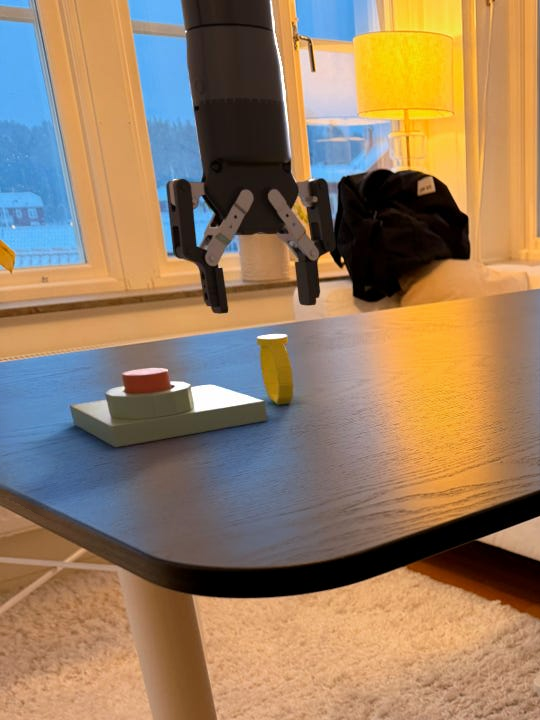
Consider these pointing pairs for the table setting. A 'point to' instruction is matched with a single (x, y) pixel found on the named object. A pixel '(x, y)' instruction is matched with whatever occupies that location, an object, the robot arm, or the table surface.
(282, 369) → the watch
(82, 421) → the console
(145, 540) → the table surface
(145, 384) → the button
